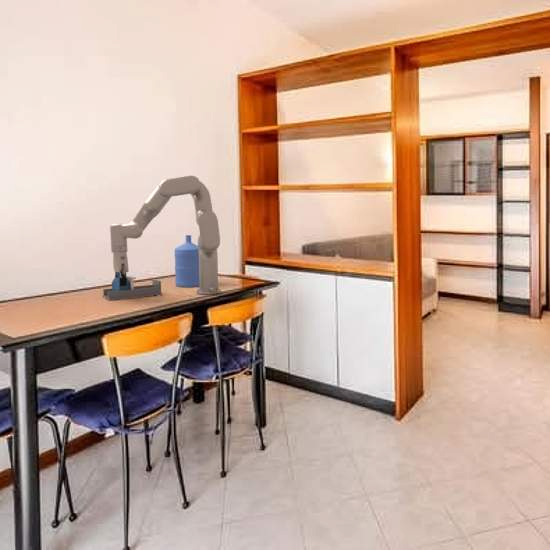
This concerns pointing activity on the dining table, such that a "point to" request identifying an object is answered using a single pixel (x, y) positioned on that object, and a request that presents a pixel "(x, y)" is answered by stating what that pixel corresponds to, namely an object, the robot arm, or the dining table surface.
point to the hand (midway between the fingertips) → (121, 284)
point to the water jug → (187, 264)
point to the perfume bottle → (117, 286)
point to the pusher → (131, 281)
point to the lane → (134, 291)
